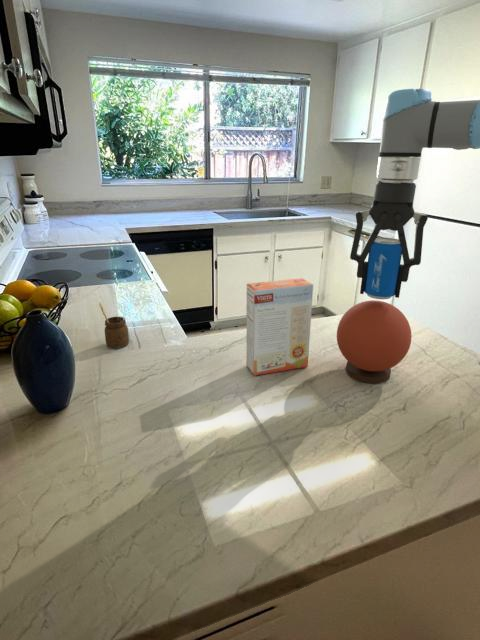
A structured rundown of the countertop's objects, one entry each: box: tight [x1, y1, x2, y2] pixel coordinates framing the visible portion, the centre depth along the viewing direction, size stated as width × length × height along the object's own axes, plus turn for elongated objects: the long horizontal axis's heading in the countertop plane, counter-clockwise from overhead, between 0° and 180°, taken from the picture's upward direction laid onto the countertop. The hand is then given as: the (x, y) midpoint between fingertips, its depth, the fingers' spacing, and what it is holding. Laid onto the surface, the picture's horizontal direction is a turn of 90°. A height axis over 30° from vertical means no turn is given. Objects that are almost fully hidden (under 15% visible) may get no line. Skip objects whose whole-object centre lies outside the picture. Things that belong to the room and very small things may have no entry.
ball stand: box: [336, 299, 413, 385], centre depth 91 cm, size 16×16×18 cm
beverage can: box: [364, 237, 403, 300], centre depth 85 cm, size 6×6×12 cm
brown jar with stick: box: [98, 302, 130, 349], centre depth 105 cm, size 6×6×12 cm
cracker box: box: [246, 277, 314, 377], centre depth 93 cm, size 14×6×21 cm, turn 108°
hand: (379, 293), depth 87 cm, fingers closed on beverage can, 6 cm apart
